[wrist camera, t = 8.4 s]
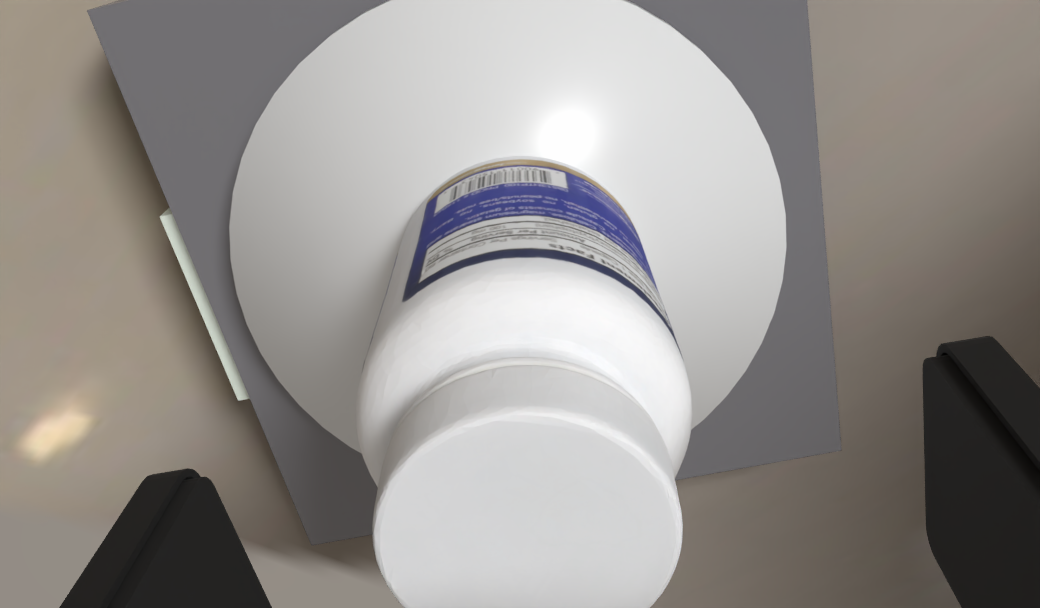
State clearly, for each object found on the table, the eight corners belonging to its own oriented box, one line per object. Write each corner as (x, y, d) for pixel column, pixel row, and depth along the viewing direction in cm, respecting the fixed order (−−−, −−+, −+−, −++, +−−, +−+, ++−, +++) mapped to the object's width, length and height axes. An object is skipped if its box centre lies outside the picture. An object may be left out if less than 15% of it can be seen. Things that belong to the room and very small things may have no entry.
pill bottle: (569, 406, 21) (601, 741, 13) (362, 315, 20) (255, 617, 12) (689, 216, 19) (819, 473, 11) (465, 103, 18) (422, 293, 10)
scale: (761, -159, 18) (807, -164, 16) (811, 397, 24) (852, 469, 22) (115, 0, 20) (44, 22, 17) (313, 490, 26) (286, 569, 23)
